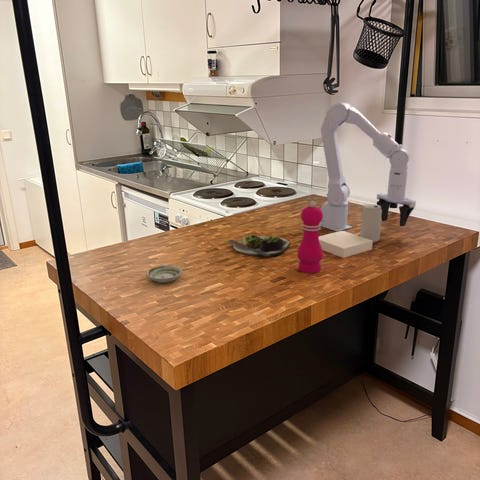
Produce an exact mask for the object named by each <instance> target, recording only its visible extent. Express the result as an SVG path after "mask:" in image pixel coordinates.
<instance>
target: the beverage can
mask: <svg viewBox="0 0 480 480" xmlns="http://www.w3.org/2000/svg"><path fill="white" fill-rule="evenodd" d="M381 216H382V210H381V206H379V205H377V204H374V203H371V204H370V203H369V204H368V203H367V204H364V205H363V207H362V209H361V216H360V217H361V218H360V229H359V230H360V231H359V236H360V237H363V238H366V239H369V240H373V242H372V244H374V243H377V242H378V241H380V238H381V225H382V219H381Z"/></svg>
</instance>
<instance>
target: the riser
mask: <svg viewBox="0 0 480 480" xmlns="http://www.w3.org/2000/svg"><path fill="white" fill-rule="evenodd" d="M318 237H319V242H320V245H321V247H322V250H323V252H324V251H325V252H327V253H330V254H332V255H335V256H337V257H340V258H343V259H344V258H348V257H351V256H355V255H358V254H361V253H364V252H368V251H371V250H372V249H373V243H372V242H373V240H369V239H366V238H363V237H360V235H357V234H353V233H351V232H348V231H345V230H341V231H335V232H331V233H328V234H327V233H326V234H323V235H320V236H319V235H318Z"/></svg>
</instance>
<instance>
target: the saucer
mask: <svg viewBox="0 0 480 480" xmlns="http://www.w3.org/2000/svg"><path fill="white" fill-rule="evenodd" d="M182 274H183V270H182V268H180V267H179V266H178V267H177V266H176V265H175V266H174V265H157V266H154V267H151V268H149V269H148V270H147V271H146V272H145V276H146V277H147V278H149V279H150V280H152V281H153V282H156V283H160V284H167V283H172V282H173V281H174V280H177V279H178V278H179V277H180V276H181V275H182Z"/></svg>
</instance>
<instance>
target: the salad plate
mask: <svg viewBox="0 0 480 480" xmlns="http://www.w3.org/2000/svg"><path fill="white" fill-rule="evenodd" d="M227 243H228V244H230V245H232V246H233V249H234V250H235V251H237V252H238V253H240V254H243V255H251V256H255V257H262V258H263V257H264V258H273V257H279V256H280V255H282V254H284V253H285V252H286V251H287V250H288V249H289V247H290V244H291V243H290V241H289V240H287V239H285V238H282V237H279V236H278V237H277V236H271V235H270V236H262V235H254V234H249V235H247V236H242V238H241V239H240V240H239V241H235V240H233V239H230V240H228V242H227Z"/></svg>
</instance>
